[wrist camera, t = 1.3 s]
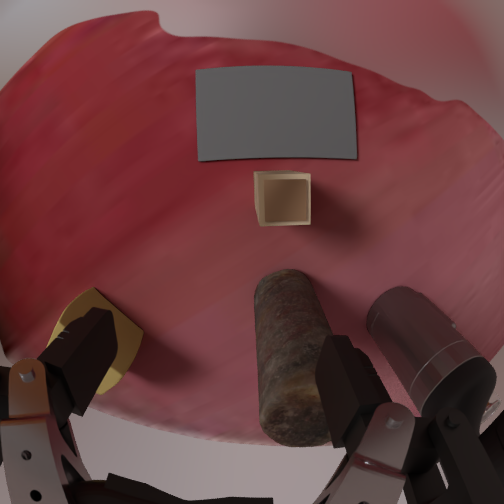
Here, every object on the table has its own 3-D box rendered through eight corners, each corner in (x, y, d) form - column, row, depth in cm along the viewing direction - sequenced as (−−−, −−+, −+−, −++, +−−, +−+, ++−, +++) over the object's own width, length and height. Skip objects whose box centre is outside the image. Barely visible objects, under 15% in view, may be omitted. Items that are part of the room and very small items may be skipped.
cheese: (117, 364, 38) (95, 406, 28) (67, 321, 35) (35, 356, 26) (149, 331, 36) (126, 378, 26) (92, 280, 33) (54, 316, 24)
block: (289, 170, 30) (311, 174, 20) (290, 205, 31) (311, 225, 21) (253, 171, 30) (258, 174, 20) (255, 206, 31) (260, 227, 21)
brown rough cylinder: (260, 324, 36) (273, 456, 17) (244, 275, 33) (245, 406, 14) (315, 309, 35) (368, 431, 16) (305, 258, 33) (370, 372, 14)
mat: (350, 72, 26) (351, 71, 25) (355, 159, 29) (356, 159, 29) (196, 71, 26) (195, 70, 25) (199, 161, 29) (198, 161, 29)
